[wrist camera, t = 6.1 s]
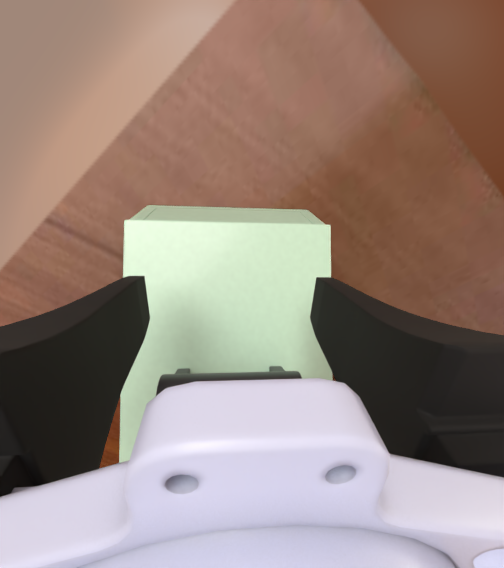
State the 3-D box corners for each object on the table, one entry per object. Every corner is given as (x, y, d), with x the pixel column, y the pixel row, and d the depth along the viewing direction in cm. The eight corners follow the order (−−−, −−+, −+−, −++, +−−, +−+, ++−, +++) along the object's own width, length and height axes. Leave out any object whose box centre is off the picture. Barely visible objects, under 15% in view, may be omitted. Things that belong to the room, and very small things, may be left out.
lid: (328, 453, 16) (373, 521, 12) (123, 464, 15) (75, 544, 10) (326, 227, 17) (367, 199, 12) (128, 223, 16) (85, 189, 11)
